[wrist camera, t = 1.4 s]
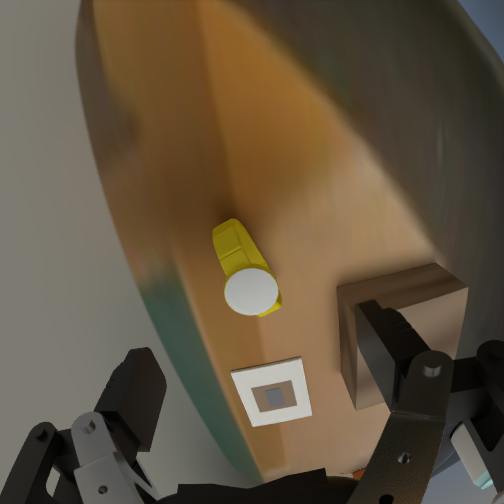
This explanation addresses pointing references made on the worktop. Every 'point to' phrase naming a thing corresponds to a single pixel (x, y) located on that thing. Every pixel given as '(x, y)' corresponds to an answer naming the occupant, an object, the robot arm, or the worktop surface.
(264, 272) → the watch
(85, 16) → the worktop surface
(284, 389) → the card
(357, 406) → the walnut block
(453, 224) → the worktop surface
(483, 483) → the can
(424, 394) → the robot arm
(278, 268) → the worktop surface
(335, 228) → the worktop surface
